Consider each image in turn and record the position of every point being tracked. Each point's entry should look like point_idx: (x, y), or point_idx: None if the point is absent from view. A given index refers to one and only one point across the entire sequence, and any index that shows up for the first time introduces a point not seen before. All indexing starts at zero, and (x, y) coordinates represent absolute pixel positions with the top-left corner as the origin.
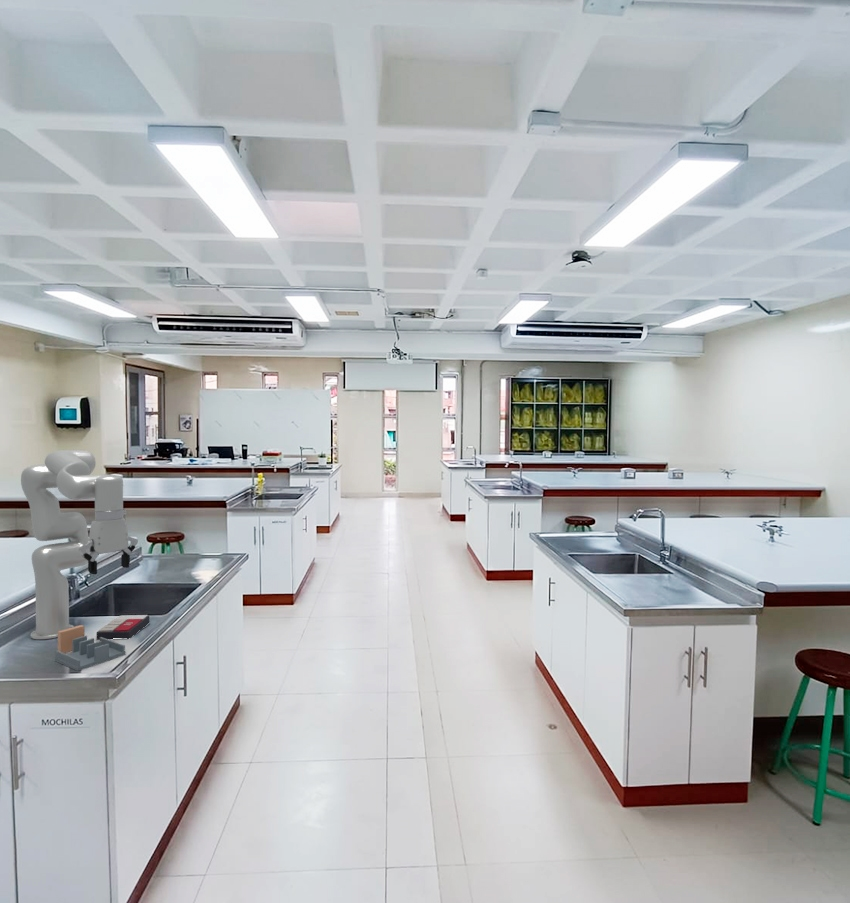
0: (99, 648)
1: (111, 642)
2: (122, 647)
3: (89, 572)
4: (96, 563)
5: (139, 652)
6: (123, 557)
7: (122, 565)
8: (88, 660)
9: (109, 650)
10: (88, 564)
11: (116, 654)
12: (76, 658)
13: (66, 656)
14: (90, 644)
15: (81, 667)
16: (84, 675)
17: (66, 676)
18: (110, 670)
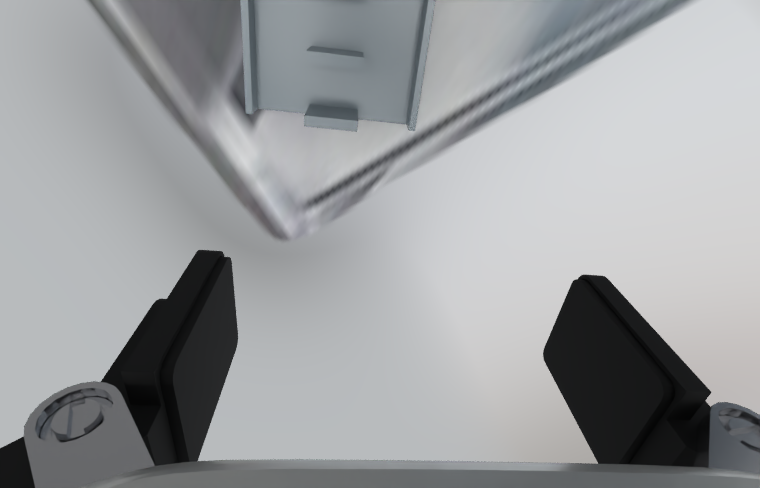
0: (320, 126)
1: (421, 38)
2: (408, 124)
3: (199, 251)
4: (193, 450)
5: (444, 149)
6: (620, 403)
7: (575, 302)
8: (301, 78)
9: (397, 57)
10: (120, 363)
11: (382, 121)
12: (250, 85)
13: (241, 11)
14: (318, 60)
15: (262, 108)
16: (248, 159)
17: (210, 113)
18: (310, 195)
